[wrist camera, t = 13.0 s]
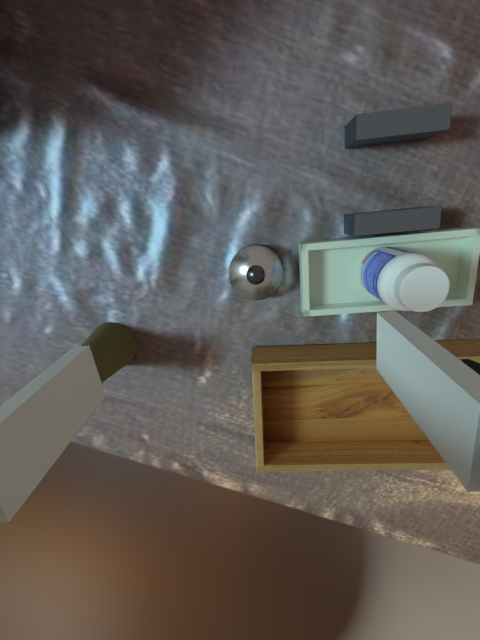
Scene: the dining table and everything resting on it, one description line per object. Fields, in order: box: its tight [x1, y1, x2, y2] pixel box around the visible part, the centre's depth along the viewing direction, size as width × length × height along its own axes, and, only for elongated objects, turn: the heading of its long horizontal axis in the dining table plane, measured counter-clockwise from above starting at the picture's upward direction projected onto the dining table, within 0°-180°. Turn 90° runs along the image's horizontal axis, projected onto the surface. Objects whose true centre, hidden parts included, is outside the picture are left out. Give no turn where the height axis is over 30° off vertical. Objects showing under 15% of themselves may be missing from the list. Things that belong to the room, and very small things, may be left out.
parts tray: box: [298, 227, 480, 317], centre depth 35 cm, size 8×18×2 cm, turn 96°
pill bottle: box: [358, 247, 450, 312], centre depth 31 cm, size 5×5×10 cm
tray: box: [252, 339, 480, 471], centre depth 39 cm, size 31×15×6 cm, turn 93°
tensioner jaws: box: [344, 103, 452, 236], centre depth 31 cm, size 10×8×4 cm
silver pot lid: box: [229, 244, 283, 300], centre depth 35 cm, size 6×6×3 cm
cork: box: [81, 322, 137, 383], centre depth 36 cm, size 6×6×11 cm
